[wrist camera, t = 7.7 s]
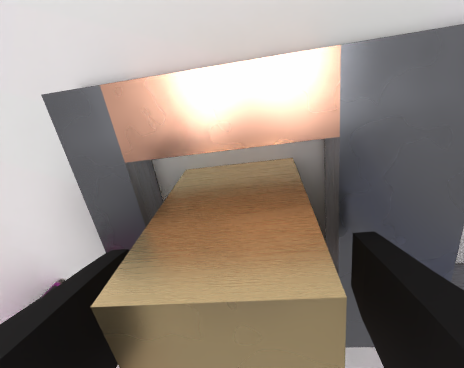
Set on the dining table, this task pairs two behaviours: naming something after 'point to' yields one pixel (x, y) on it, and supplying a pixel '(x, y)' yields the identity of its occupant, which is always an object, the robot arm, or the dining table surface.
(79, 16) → the dining table surface
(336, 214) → the grey flat frame piece
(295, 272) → the light brown rectangular block
